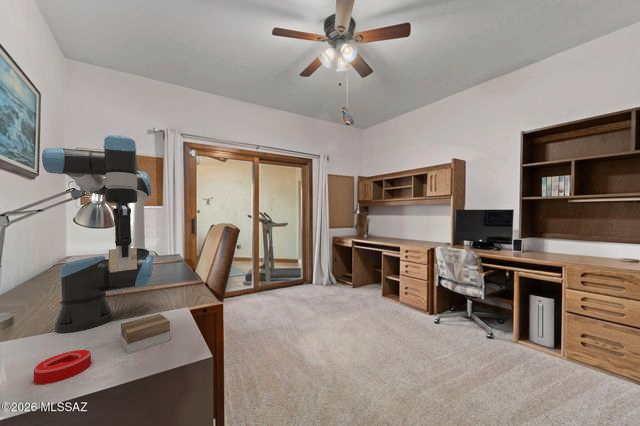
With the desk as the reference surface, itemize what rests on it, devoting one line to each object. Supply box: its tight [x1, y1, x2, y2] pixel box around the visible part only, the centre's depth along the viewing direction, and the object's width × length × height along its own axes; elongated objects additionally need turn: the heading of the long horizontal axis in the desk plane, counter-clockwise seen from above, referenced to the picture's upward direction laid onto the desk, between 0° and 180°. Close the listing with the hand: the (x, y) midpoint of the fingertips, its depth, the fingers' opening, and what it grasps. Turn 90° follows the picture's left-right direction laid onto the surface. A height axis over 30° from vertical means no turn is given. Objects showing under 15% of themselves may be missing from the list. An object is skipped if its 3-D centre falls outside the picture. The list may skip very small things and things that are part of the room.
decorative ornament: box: [33, 349, 92, 386], centre depth 61 cm, size 10×10×3 cm
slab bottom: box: [120, 330, 171, 355], centre depth 75 cm, size 10×10×3 cm
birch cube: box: [108, 248, 137, 272], centre depth 75 cm, size 6×6×6 cm
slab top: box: [120, 313, 171, 344], centre depth 75 cm, size 10×10×3 cm
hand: (123, 268), depth 75 cm, fingers closed on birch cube, 6 cm apart
